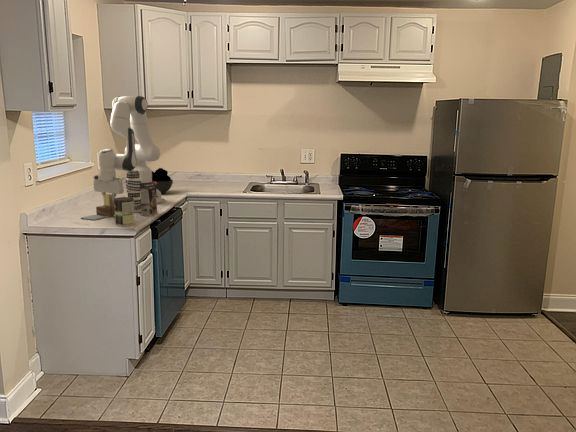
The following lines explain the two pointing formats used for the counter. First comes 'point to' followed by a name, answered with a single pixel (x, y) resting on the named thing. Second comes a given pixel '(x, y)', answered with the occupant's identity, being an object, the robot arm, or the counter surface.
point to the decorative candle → (134, 188)
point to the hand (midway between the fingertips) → (109, 200)
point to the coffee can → (124, 211)
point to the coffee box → (148, 201)
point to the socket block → (105, 211)
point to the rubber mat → (93, 217)
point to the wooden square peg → (108, 200)
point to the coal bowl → (161, 180)
